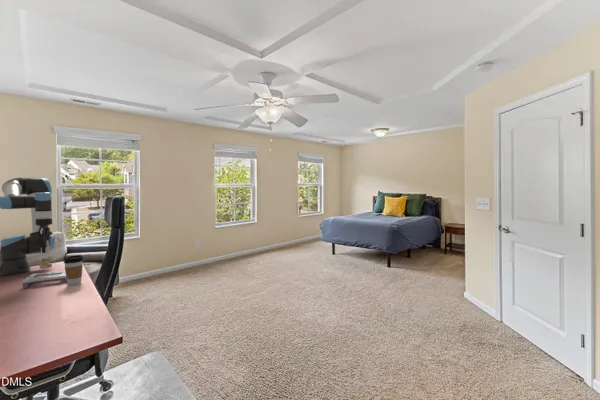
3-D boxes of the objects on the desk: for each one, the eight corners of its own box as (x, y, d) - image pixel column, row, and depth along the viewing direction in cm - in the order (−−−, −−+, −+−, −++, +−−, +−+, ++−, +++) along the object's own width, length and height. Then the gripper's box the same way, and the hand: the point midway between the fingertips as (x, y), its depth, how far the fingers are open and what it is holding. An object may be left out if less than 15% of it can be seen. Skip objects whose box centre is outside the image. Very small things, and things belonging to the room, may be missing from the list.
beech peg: (41, 267, 177) (40, 240, 176) (52, 265, 180) (51, 239, 179) (38, 269, 172) (37, 242, 172) (50, 267, 175) (49, 241, 174)
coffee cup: (87, 281, 164) (86, 255, 164) (74, 286, 156) (73, 258, 155) (74, 281, 165) (73, 255, 164) (60, 286, 156) (59, 258, 156)
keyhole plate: (32, 280, 169) (32, 273, 169) (75, 275, 178) (75, 268, 178) (22, 288, 155) (22, 280, 155) (70, 282, 164) (69, 275, 164)
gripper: (39, 217, 180) (41, 255, 181) (31, 219, 166) (32, 261, 167) (55, 216, 184) (56, 254, 184) (48, 219, 169) (49, 259, 170)
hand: (45, 257), depth 176 cm, fingers closed on beech peg, 3 cm apart
